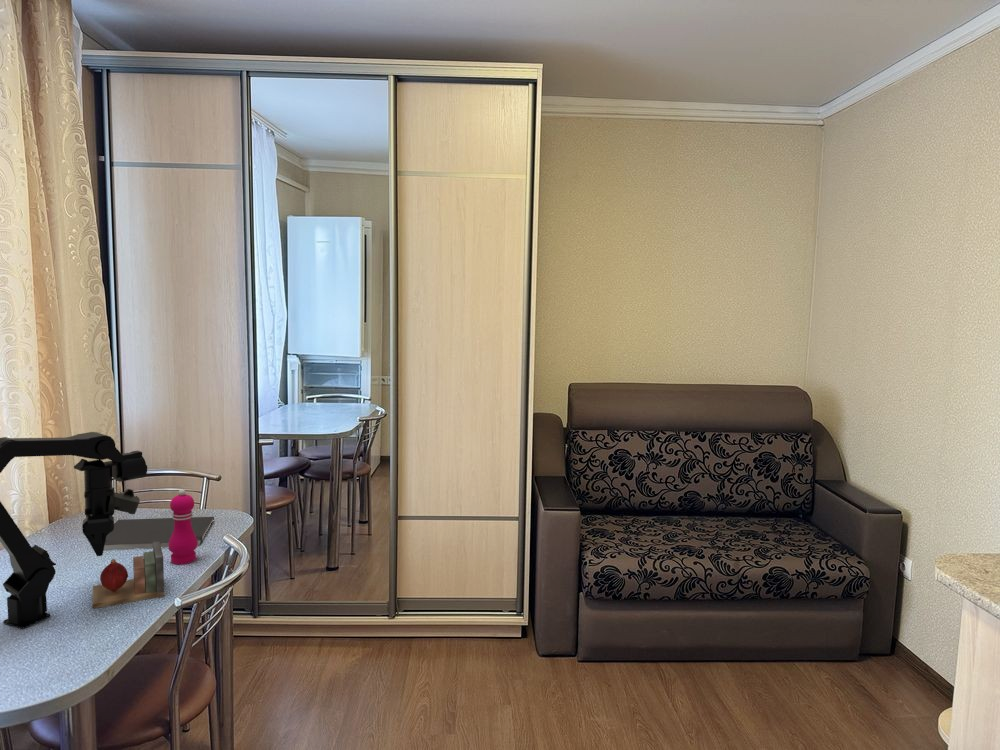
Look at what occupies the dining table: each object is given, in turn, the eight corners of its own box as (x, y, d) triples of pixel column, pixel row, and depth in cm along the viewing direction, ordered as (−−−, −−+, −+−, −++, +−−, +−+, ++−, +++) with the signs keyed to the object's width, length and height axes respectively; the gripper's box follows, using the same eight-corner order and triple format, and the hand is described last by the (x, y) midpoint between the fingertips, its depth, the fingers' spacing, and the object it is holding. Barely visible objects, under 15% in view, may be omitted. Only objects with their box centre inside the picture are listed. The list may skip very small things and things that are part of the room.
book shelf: (92, 608, 160) (91, 567, 159) (93, 589, 170) (91, 550, 168) (164, 596, 168) (163, 556, 166) (160, 578, 177) (159, 541, 176)
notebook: (214, 523, 220) (118, 526, 214) (214, 516, 220) (118, 519, 214) (199, 548, 199) (92, 552, 193) (199, 540, 199) (92, 544, 193)
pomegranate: (133, 590, 168) (132, 558, 167) (109, 598, 163) (108, 566, 162) (119, 584, 171) (118, 553, 170) (95, 592, 166) (94, 560, 165)
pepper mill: (186, 566, 185) (185, 494, 183) (163, 563, 186) (161, 491, 184) (203, 556, 192) (202, 486, 190) (180, 553, 193) (178, 484, 191)
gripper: (137, 492, 159) (139, 557, 161) (136, 473, 175) (137, 532, 177) (81, 497, 154) (83, 565, 155) (85, 476, 170) (87, 538, 172)
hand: (100, 549), depth 165 cm, fingers open, 9 cm apart
